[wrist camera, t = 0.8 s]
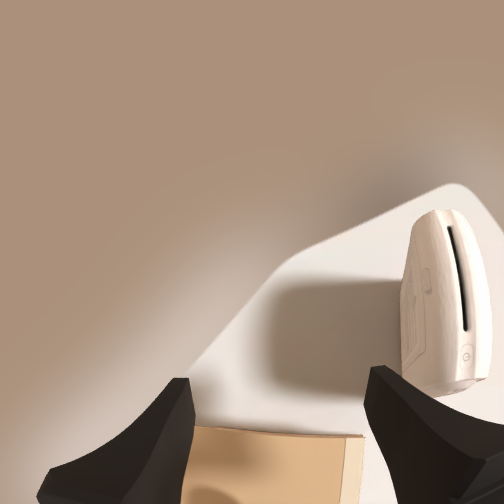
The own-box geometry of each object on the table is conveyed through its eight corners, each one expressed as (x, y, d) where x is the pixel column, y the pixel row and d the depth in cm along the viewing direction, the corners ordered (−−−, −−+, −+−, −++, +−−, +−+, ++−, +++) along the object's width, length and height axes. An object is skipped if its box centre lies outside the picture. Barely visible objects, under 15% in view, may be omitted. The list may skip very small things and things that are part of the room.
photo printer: (449, 397, 20) (511, 381, 10) (398, 402, 21) (425, 394, 11) (442, 278, 24) (476, 188, 14) (396, 281, 26) (406, 192, 16)
